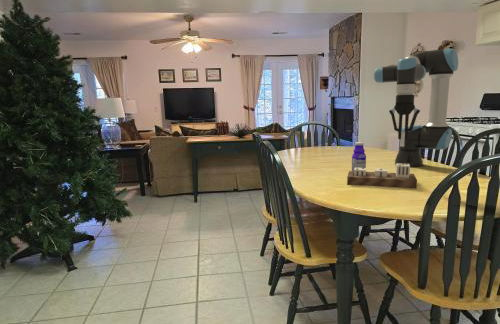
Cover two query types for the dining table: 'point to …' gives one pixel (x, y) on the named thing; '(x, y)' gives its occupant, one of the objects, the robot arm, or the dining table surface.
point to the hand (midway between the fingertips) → (402, 146)
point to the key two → (360, 171)
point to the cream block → (380, 172)
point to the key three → (402, 170)
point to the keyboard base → (382, 180)
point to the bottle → (358, 156)
